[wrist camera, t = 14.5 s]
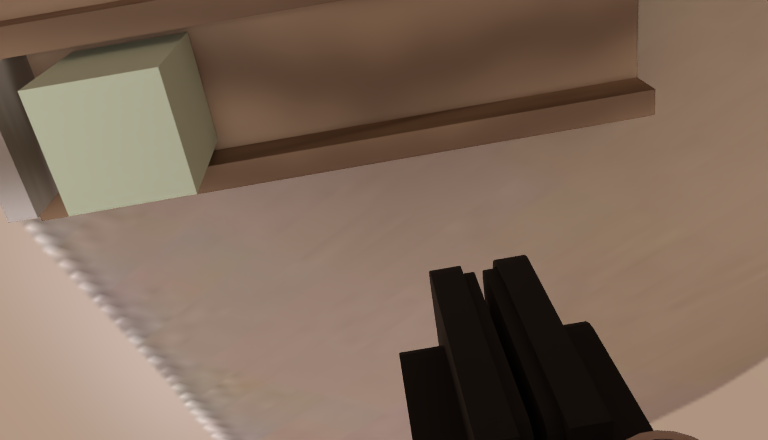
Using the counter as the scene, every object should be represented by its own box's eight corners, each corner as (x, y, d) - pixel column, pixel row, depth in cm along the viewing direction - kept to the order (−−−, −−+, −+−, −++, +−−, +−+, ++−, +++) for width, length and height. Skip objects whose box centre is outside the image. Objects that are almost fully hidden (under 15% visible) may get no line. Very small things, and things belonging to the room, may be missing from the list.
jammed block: (72, 51, 29) (17, 91, 24) (187, 32, 29) (157, 66, 24) (111, 158, 32) (68, 216, 26) (217, 139, 32) (197, 194, 26)
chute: (-15, 0, 29) (-82, 26, 24) (630, -111, 29) (693, -107, 24) (70, 207, 34) (27, 264, 29) (627, 111, 34) (679, 151, 29)
